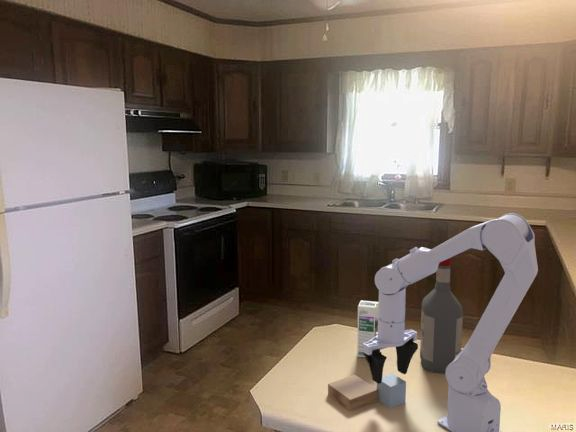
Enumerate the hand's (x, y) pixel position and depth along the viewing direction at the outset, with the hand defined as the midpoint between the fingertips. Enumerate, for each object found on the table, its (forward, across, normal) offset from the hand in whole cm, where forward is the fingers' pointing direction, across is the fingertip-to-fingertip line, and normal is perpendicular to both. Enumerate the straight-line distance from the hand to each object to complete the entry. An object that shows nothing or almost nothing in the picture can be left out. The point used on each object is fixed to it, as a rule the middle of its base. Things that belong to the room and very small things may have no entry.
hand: (389, 376), depth 103 cm
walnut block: (+6, +6, -5) cm, 10 cm away
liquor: (+6, -23, -5) cm, 24 cm away
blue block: (+6, 0, 0) cm, 6 cm away
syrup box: (+6, -12, -20) cm, 24 cm away
